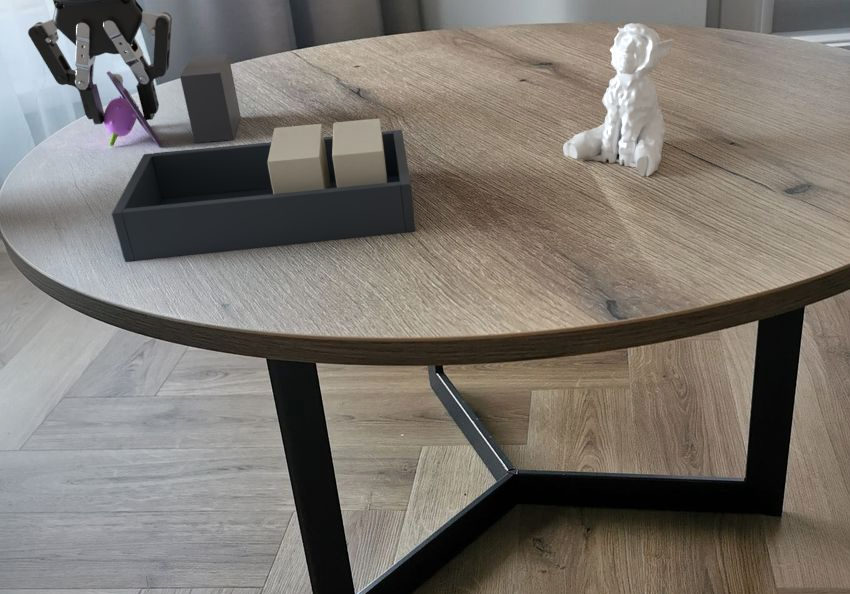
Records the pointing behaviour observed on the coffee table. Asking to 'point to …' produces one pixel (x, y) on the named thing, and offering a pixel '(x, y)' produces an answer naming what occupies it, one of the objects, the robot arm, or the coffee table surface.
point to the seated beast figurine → (628, 106)
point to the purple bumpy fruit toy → (124, 113)
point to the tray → (251, 203)
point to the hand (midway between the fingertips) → (125, 119)
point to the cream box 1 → (298, 159)
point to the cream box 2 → (358, 153)
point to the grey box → (211, 98)
